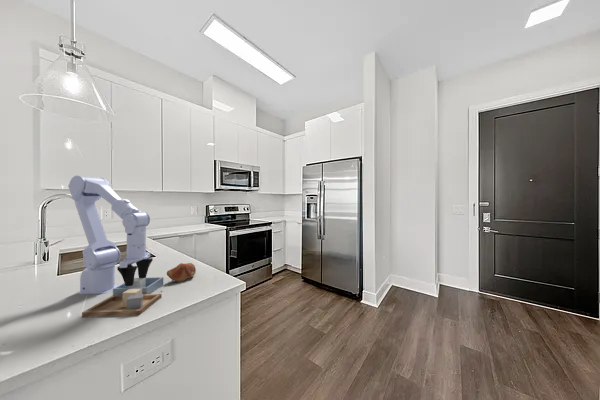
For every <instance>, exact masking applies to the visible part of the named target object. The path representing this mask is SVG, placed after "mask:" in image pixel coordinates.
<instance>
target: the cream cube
mask: <svg viewBox="0 0 600 400" xmlns="http://www.w3.org/2000/svg"><path fill="white" fill-rule="evenodd" d="M138 294H142V289H128V290H127V291H125V292H123V300H122V307H127V299H128V297H129V296H131V295H138Z"/></svg>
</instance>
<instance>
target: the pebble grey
mask: <svg viewBox="0 0 600 400" xmlns="http://www.w3.org/2000/svg"><path fill="white" fill-rule="evenodd" d="M146 278H147V277H146ZM146 278H139V277H134V282H133V285H132V286H129V288H145V287H146Z"/></svg>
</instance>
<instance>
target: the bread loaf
mask: <svg viewBox="0 0 600 400" xmlns="http://www.w3.org/2000/svg"><path fill="white" fill-rule="evenodd" d="M196 270H197V269H196V265H195V264H193V263H192V262H187V263H179V264H178V265H176V266H175V267H172V268H171V269H169V270H167V272H166V275H167V277H168V278H169V279H171V280H172V281H174V282H175V283H176V282H177V283H182V282H185V281H186V280H187V279H191V278H193V277H194V276H195V274H196Z"/></svg>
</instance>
